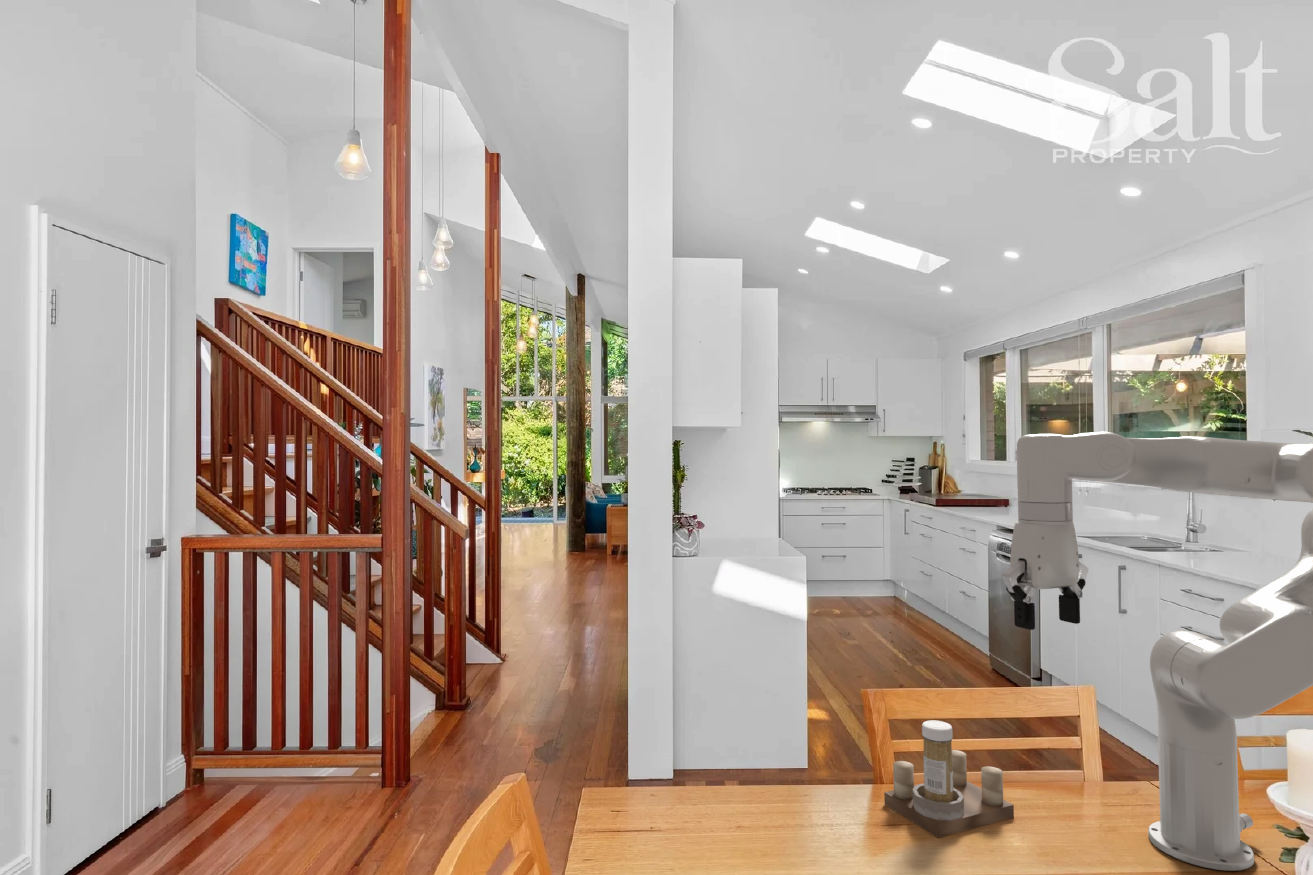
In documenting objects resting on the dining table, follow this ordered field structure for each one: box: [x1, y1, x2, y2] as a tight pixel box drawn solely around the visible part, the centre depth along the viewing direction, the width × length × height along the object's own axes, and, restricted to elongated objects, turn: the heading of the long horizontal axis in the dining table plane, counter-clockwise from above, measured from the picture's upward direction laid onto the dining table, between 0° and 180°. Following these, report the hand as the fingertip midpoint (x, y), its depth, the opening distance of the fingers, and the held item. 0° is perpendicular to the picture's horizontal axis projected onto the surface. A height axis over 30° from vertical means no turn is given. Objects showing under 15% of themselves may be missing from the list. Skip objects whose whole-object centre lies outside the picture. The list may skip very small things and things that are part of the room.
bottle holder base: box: [883, 749, 1015, 839], centre depth 121 cm, size 16×12×7 cm
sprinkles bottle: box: [921, 719, 954, 802], centre depth 117 cm, size 5×5×14 cm
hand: (1047, 624), depth 113 cm, fingers open, 9 cm apart
